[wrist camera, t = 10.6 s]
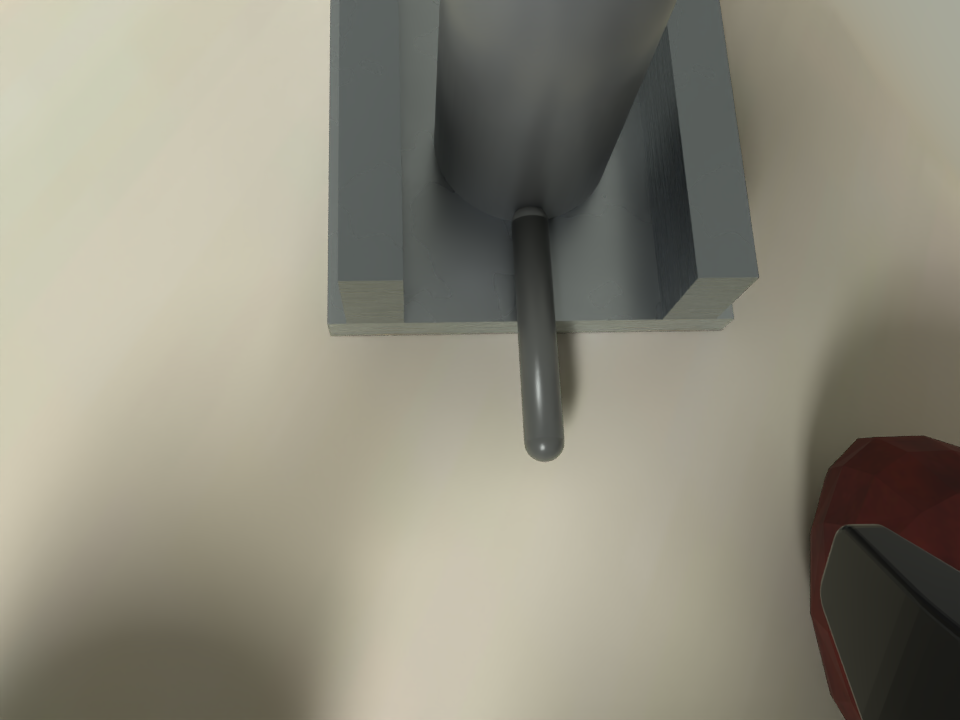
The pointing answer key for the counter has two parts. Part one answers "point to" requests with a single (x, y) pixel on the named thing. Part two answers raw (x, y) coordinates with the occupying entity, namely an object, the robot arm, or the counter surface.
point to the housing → (573, 236)
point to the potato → (884, 518)
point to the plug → (537, 141)
